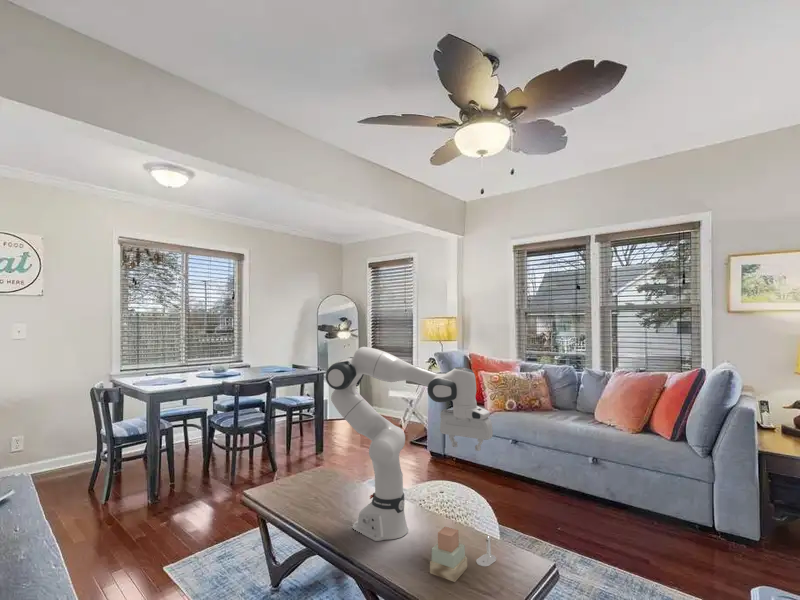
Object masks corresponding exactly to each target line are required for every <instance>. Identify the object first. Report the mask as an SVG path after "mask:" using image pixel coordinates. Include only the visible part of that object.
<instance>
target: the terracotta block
mask: <svg viewBox="0 0 800 600" xmlns="http://www.w3.org/2000/svg"><path fill="white" fill-rule="evenodd" d="M459 536H460V535H459V530H458V529H456V528H452V527H448V526H444V527H443V528H441V529H440V530H439V531H438V532H437V544H438V548H439V549H442V550H445V551H449V552H453V551H454V550H455V549H456V548H457V547H458V546H459V543H460V541H459Z"/></svg>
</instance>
